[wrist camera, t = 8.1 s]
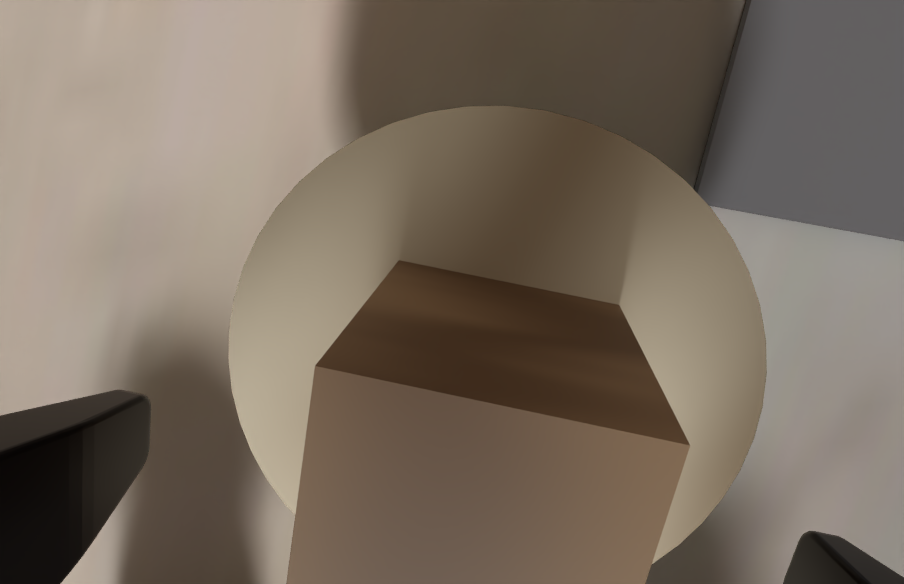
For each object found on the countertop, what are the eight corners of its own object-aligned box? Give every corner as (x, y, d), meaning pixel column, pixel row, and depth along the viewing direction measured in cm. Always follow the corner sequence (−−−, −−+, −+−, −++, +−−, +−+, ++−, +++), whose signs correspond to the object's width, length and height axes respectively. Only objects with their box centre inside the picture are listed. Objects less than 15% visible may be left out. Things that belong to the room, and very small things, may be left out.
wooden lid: (817, 162, 12) (1127, 219, 6) (665, 609, 15) (765, 956, 9) (278, 60, 12) (46, 14, 6) (233, 512, 15) (45, 779, 9)
